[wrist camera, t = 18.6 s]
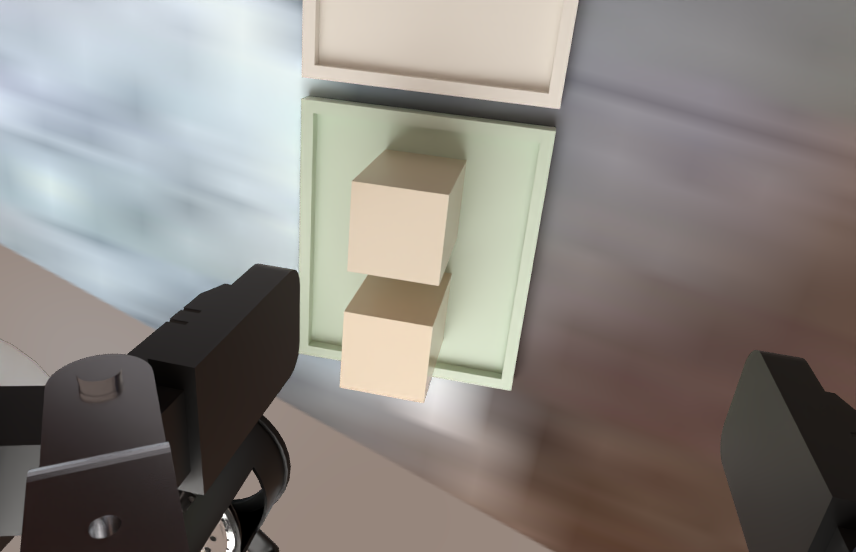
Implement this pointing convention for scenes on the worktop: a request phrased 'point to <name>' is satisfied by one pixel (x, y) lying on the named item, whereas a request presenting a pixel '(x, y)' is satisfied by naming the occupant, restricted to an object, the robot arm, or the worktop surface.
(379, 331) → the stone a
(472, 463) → the worktop surface
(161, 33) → the worktop surface
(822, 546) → the robot arm
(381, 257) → the beige block
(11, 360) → the honey pot
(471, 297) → the bin
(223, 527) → the french press
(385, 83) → the bin
